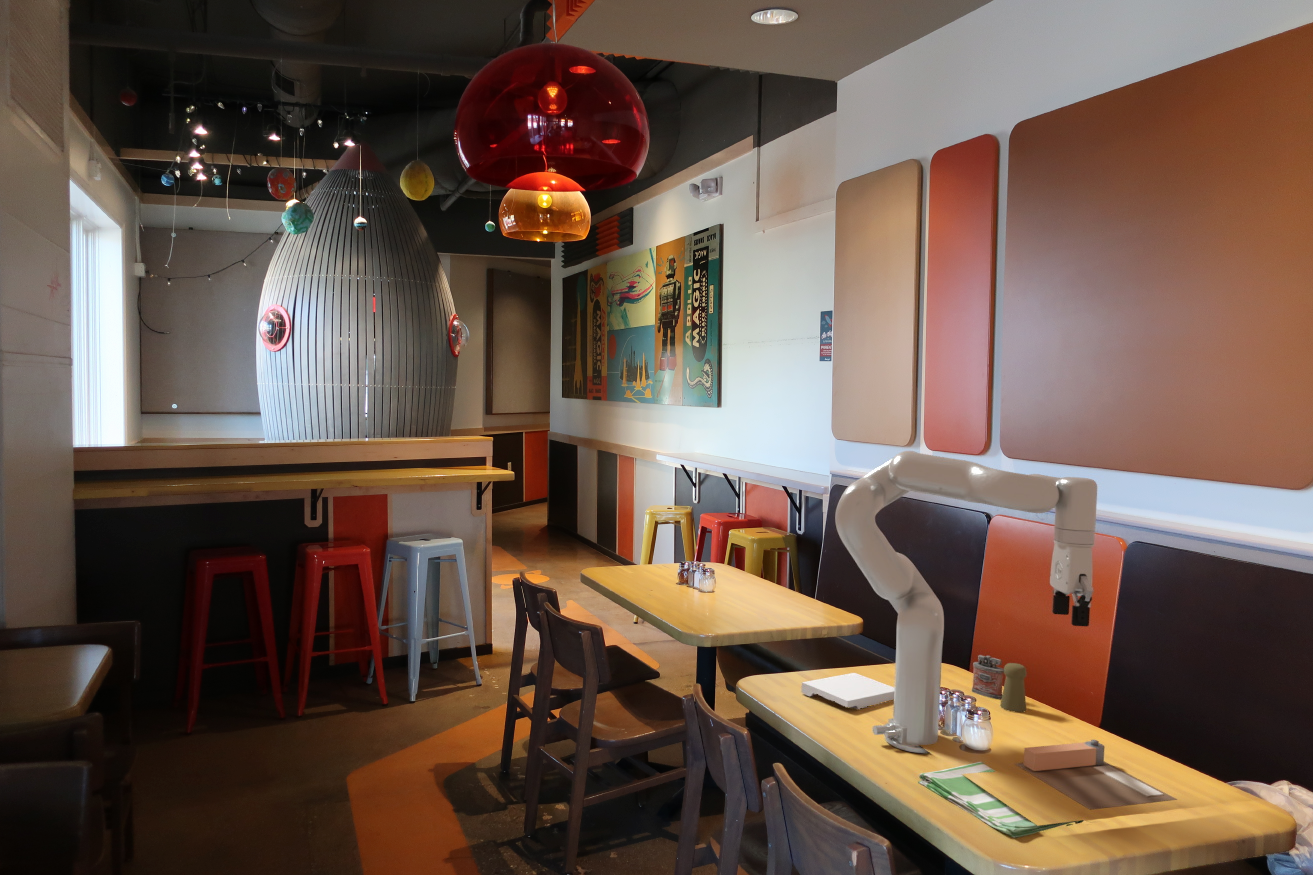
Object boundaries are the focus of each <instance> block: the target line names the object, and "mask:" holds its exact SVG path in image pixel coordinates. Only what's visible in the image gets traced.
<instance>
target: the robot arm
mask: <svg viewBox="0 0 1313 875" xmlns="http://www.w3.org/2000/svg"><path fill="white" fill-rule="evenodd" d="M909 492H914V493H919V494H925V495H926V494H927V495H930V496H931V495H932V496H938V497H943V498H948V499H954V500H958V501H959V500H960V501H965V502H967V503H975V504H981V505H982V504H983V505H984V504H985V505H988V506H993V507H996V508H997V507H998V508H1004V509H1007V510H1014V511H1020V512H1026V513H1032V514H1043V513H1047V512H1050V511H1051V510H1053V509H1054V510H1055V512H1054V513H1055V515H1054V530H1053V543H1054V544H1053V545H1054V546H1053V550H1052V557H1051V564H1050V565H1051V566H1050V577H1049V584H1050V586H1051V587H1052V588H1053V589H1052V596H1053V597H1052V614H1054V615H1063V616H1066V615H1070V599H1071V598H1070V597H1071V596H1072V600H1073V603H1074V605H1071V606H1072V608H1071V623H1070V624H1071V625H1072V626H1073V627H1089V626H1090V611H1091V610H1090V609H1091V606H1092V600H1093V594H1094V587H1093V572H1094V571H1093V570H1094V569H1093V550H1092V548H1094V547H1095V543H1096V542H1095V540H1096V522H1097V504H1098V503H1097V501H1098V484H1097V482H1096V481H1095V480H1094V479H1092V478H1086V477H1075V476H1066V477H1057V476H1048V475H1044V474H1038V473H1031V474H1025V473H1019V472H1011V471H1008V470H1007V471H1006V470H1002V469H1001V470H1000V469H998V468H992V467H989V466H985V465H982V464H979V463H977V462H974V461H970V460H963V459H957V458H952V457H944V456H938V455H934V454H933V455H932V454H926V453H925V454H924V453H920V452H917V451H913V450H904V451H901V452H899V453H897V454H896V455H895V456H894V457H892V458H891V459H889V460H888V461H886V462H885V463H883V464H882V465H879V466H878V467H876V468H875V469H873V470H872V471H870V472H869V473H867V474H866V475H863V476H862V477H860V478H859V479H857V480H855V481H854V482H851V484H849V486H847V487H846V488H845V490H844V491H843V493H842V494H841V497H840V499H839V501H838V503H837V506H836V508H835V515H834V516H835V519H834V520H835V522H834V523H835V526H836V531H837V533H838V534H837V535H839V538H840V540H841V543H842V544H843V545H844V547H845V548H846V550H847V551H848V553H849V554H850V555H851V558H852V559H853V561H855V563H856V565H857V567H858V568H859V569H860V571H861V572H862V574H863V575H864V577H865V578H866V579H867V581H868V583H869V585H870V586H871V588H872V589H873V591H874V592H875V593H876V594H877V595H878V596H879V597H880V598H882V599H884V600H887V601H888V602H889V603H890V605H892V608H894V610H895V611H896V613H897V620H896V644H895V645H896V646H895V648H896V649H895V676H894V688H895V691H894V700H893V711H892V712H893V714H892V715H893V717H892V718H888V723H887V722H886V723H885V724H884V725H882V724H878V725H873V726H872V733H873V735H874V736H878V735H883V736H884V740H885V741H886V742H887V744H889V745H891V746H893V747H895V748H896V749H899V750H903V751H906V752H909V753H916V754H931V752H930V751H929V750H927V749H926V748H924V747H923V746H926V745H927V746H928V745H932V744H933V745H934V744H936V743H937V742H938V739H939V723H940V722H939V719H940V704H941V702H940V700H941V683H942V682H941V679H942V658H943V657H942V656H943V645H944V644H943V641H944V631H945V615H944V609H943V606H942V602H941V601H940V600H939V598H938V597H937V595H936V593H934V591H933V589H932V588H931V586H930V585H929V584H928V583H927V582H926V580H925V579H924V577H923V576H922V574H921V573H920V571H919V570H918V568H917V567H916V566H915V565H914V563H913V562H912V561H911V560H910V559H909V558H908V557H907V556H906V555H905V554H903V553H901V552H900V553H899V552H897V551H896V550H895V549H894V548H893V546H892V545H891V543H890V542H889V541H888V539H887V538H886V535H884V533H883V532H882V531H881V530H880V528H879V527H878V525H877V523H876V515H877V514H878V513H879V512H880V511H881V510H882V509H883V508H885V507H887V506H888V505H890V504H891V503H893V502H894V501H897V500H898V499H900V498H901V497H903V496H905V495H906V494H907V493H909ZM1070 594H1071V596H1070ZM922 745H923V746H922Z"/></svg>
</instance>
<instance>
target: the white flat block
mask: <svg viewBox="0 0 1313 875" xmlns="http://www.w3.org/2000/svg"><path fill="white" fill-rule="evenodd" d="M894 691H895V686H892V685H888V684H885V683H883V682H880V681H877V680H875V679H873V678H870V677H867V676H864V675H861V674H859V673H856V672H851V673H850V672H849V673H845V674H840V675H834V676H829V677H824V678H818V679H812V680H808V681H802V682H801V690H800V693H802V694H804V695H805V696H808V697H813V696H816V695H817V694H818V696H821V697H822V698H824V699H826V700H827V701H830V700H831V701H830V702H833V701H835V702H834V703H836V704H839V705H840V706H842V707H844V706H845V708H847V707H849V708H848V709H853V708H855V710H857V709H859V710H861V709H860V708H862V709H863V708H868V707H867V706H870V705H874V706H876V705H875V704H878V705H880V704H879V703H881V702H885V701H889V700H893V699H894ZM893 701H894V700H893ZM889 702H890V701H889ZM885 703H886V702H885ZM881 704H882V703H881Z"/></svg>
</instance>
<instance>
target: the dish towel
mask: <svg viewBox="0 0 1313 875" xmlns="http://www.w3.org/2000/svg"><path fill="white" fill-rule="evenodd" d="M994 772H996V770H995V769H993V768H991V767H990V766H988V765H987V764H985V763H983V761H977V762H975V763H970V764H969V763H968V764H964V765H959V766H956V767H950V768H945V769H940V770H936V771H929V772H922V773H919V779H920V780H919V781H918V782H917V783H918V784H919V785H922V786H923V787H926V788H927V789H928V790H930V791H932V792H933V793H935V794H937V795H938V796H940V797H942V798H944V799H946V800H947V801H948V802H950V803H952V804H954V805H956V806H957V807H959V808H960V809H961V810H963V811H964V812H966V813H968V814H970V815H971V816H973V817H976V818H977V819H978V820H980V821H982V822H984V823H986V824H987V825H988V826H990V827H991V828H994V829H995V830H998V831H999V832H1001V833H1002V834H1006V835H1008V836H1010V837H1011V838H1013V839H1016V838H1021V837H1026V836H1028V835H1029V836H1030V835H1033V834H1037V833H1040V832H1044V831H1047V830H1050V829H1051V830H1052V829H1055V828H1058V827H1062V826H1064V825H1065V827H1068V826H1069V827H1070V826H1073V825H1074V823H1075V825H1076V824H1077V825H1078V824H1082V823H1083V822H1084V821H1085V820H1084V819H1082V820H1081V819H1080V820H1074V821H1073V820H1072V821H1066V822H1065V821H1064V822H1057V823H1049V824H1040V825H1038V824H1036V823H1035V822H1033V821H1031V820H1030V819H1028V818H1027V817H1026V816H1025V815H1023V814H1021V813H1020V812H1018V811H1017V810H1016V809H1014V808H1013V807H1011V806H1009V804H1006V803H1005V802H1004V801H1003V800H1001V799H999V798H998V797H996V796H995V795H994V794H992V793H990V792H989V791H987V790H985V789H984V788H983V787H982V786H981V785H979V784H977V783H975V782H974V781H972V780H971V779H970V778H968V777H967V776H966V775H967V774H977V773H978V774H979V773H994ZM964 774H965V775H964Z"/></svg>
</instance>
